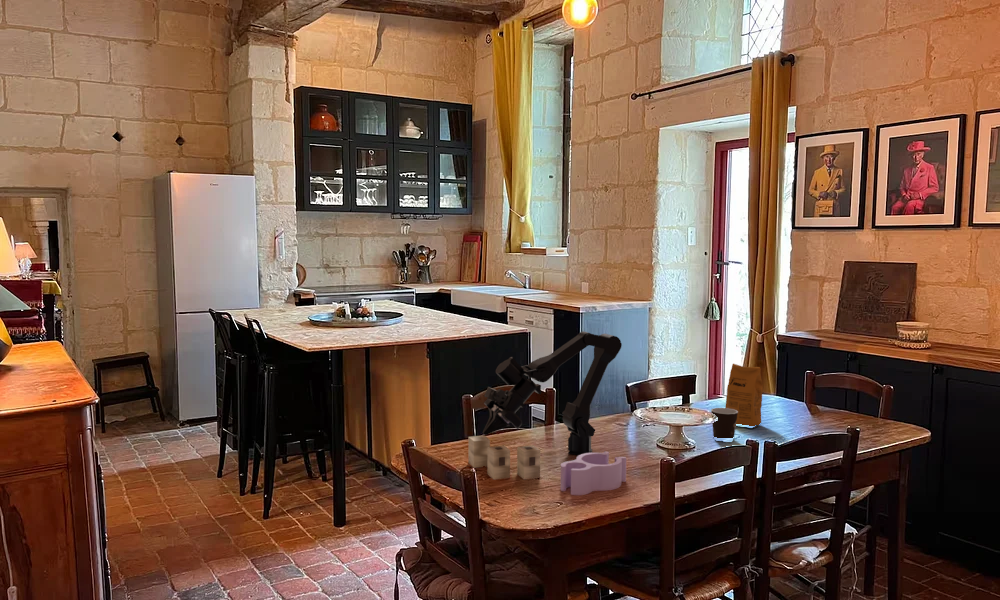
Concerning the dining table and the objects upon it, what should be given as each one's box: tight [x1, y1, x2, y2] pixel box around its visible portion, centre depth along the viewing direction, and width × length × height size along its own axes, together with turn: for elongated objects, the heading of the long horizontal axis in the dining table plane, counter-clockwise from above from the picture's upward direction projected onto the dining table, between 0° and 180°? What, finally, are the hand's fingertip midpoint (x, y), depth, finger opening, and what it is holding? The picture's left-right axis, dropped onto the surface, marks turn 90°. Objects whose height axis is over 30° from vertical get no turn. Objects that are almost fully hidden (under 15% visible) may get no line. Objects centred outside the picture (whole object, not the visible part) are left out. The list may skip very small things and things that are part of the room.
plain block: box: [467, 434, 491, 469], centre depth 222 cm, size 5×5×8 cm
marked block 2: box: [516, 444, 541, 480], centre depth 212 cm, size 5×5×8 cm
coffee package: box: [724, 363, 764, 426], centre depth 269 cm, size 10×12×22 cm
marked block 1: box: [486, 445, 511, 480], centre depth 212 cm, size 5×5×8 cm
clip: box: [560, 451, 627, 496], centre depth 205 cm, size 20×12×7 cm, turn 130°
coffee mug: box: [710, 407, 738, 438], centre depth 251 cm, size 12×9×10 cm
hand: (483, 434), depth 222 cm, fingers closed
